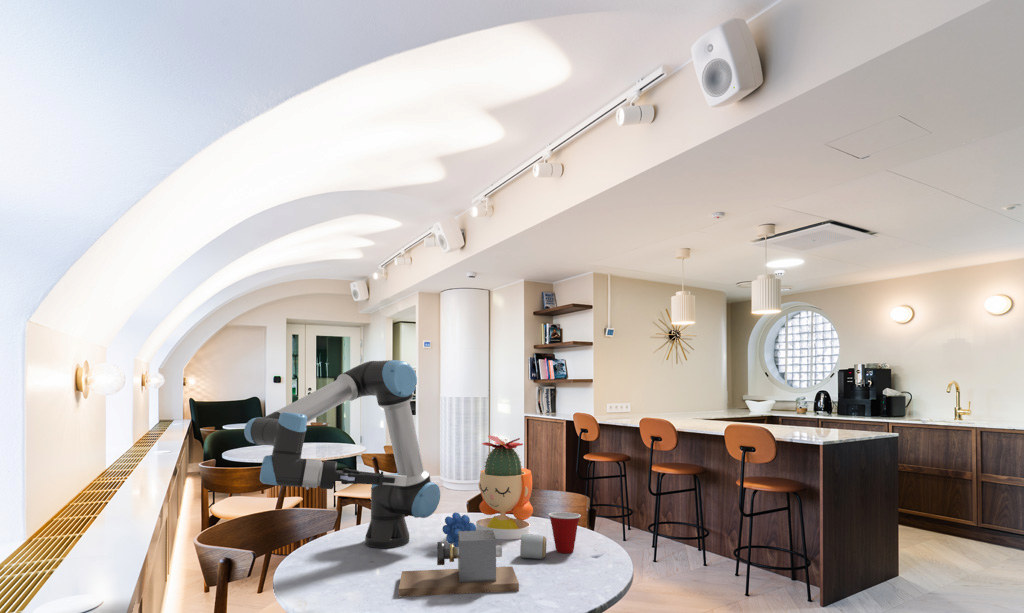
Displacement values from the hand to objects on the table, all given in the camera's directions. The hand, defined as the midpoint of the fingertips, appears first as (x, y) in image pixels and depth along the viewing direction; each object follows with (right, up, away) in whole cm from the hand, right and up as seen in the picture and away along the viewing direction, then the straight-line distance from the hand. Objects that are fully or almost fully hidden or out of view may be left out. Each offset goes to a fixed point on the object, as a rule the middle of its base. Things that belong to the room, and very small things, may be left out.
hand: (405, 481), depth 168 cm
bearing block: (+21, -25, -5) cm, 33 cm away
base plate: (+17, -27, -5) cm, 32 cm away
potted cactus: (+28, -34, +50) cm, 67 cm away
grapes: (+13, -31, +26) cm, 43 cm away
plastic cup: (+48, -31, +26) cm, 63 cm away
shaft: (+19, -22, -4) cm, 29 cm away
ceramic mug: (+37, -30, +20) cm, 52 cm away
